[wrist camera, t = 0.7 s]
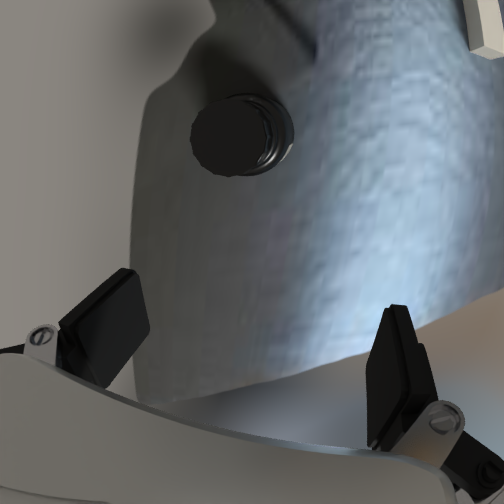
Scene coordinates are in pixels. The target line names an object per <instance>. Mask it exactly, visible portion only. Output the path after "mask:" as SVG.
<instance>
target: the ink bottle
mask: <svg viewBox="0 0 504 504" xmlns="http://www.w3.org/2000/svg"><path fill="white" fill-rule="evenodd" d="M191 127H192V129H191V136H190V142H191V146H192V150H193V154H194V156H195V157H196V158H197V160H198V161H199V162H200V165H201V166H202V167H204V168H206V169H207V170H209V171H210V172H212V173H213V174H215V175H216V174H217V175H222V176H226V177H231V176H236V175H238V176H255V175H259V174H262V173H264V172H267V171H269V170H270V169H272V168H273V167H275V166H276V165H277V164H278V163H279V162H281V161H282V160H283V159H284V158H285V157H286V156H287V154H288V153H289V151H290V149H291V147H292V145H293V140H294V127H293V123H292V120H291V117H290V115H289V114H288V112H287V111H286V110H285V108H284V107H283V106H282V105H280V104H279V103H277V102H276V101H274V100H271V99H269V98H267V97H264V96H261V95H258V94H253V93H241V94H236V95H232V96H230V97H227V98H225V99H223V100H219V101H216V102H211V103H210V104H209V105H208V106H206V107H205V108H204V109H203V110H201V111H200V112H199V113H198V115H197V117H196V119H195V121H194V123H192V126H191Z"/></svg>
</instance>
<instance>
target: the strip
mask: <svg viewBox="0 0 504 504" xmlns="http://www.w3.org/2000/svg"><path fill="white" fill-rule="evenodd" d="M463 5H464V10H465V16H466V23H467V30H468V39H469V48H470V52H472V53H475V54H478V55H480V56H483V57H486V58H488V59H495V58H498V57H502V56H504V31H503V25H502V19H501V14H500V9H499V5H498V0H463Z"/></svg>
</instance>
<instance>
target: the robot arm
mask: <svg viewBox="0 0 504 504" xmlns="http://www.w3.org/2000/svg"><path fill="white" fill-rule="evenodd" d="M58 323H59V326H60V328H61V329H60V330H59V331H58V330H57V328H56V327H55V326H53V325H49V324H48V325H41V326H38V327H36V328H34V329H33V330H32V331H31V332H30V333H29V334H28V336H27V339H26V342H25V344H21V345H17V346H12V347H8V348H3V349H0V504H504V461H503V460H502V459H501V458H500V457H499V456H498V455H496V454H495V453H494V452H492V451H491V450H490V449H488V448H487V447H485V446H484V445H483V444H481V443H480V442H479V441H477V440H476V439H474V438H473V437H472V436H470V435H469V434H468V433H466V432H465V431H464V430H463V429H464V426H465V418H464V415H463V412H462V411H461V410H460V408H459V407H458V406H456V405H455V404H453V403H451V402H449V401H444V400H440V401H439V400H438V396H437V391H436V387H435V383H434V379H433V375H432V371H431V368H430V364H429V360H428V357H427V353H426V350H425V347H424V345H423V344H422V343H418V341H417V337H416V333H415V330H414V327H413V324H412V320H411V317H410V314H409V311H408V308H407V306H406V305H395V304H391V305H390V307H389V308H385V309H384V312H383V315H382V318H381V322H380V325H379V328H378V331H377V334H376V337H375V340H374V343H373V346H372V349H371V352H370V355H369V358H368V361H367V364H366V390H367V446H368V447H372V450H364V449H354V448H343V447H331V446H322V445H314V444H306V443H298V442H292V441H285V440H278V439H272V438H266V437H261V436H255V435H251V434H246V433H241V432H236V431H232V430H228V429H224V428H219V427H216V426H212V425H208V424H204V423H200V422H197V421H193V420H190V419H186V418H183V417H180V416H177V415H173V414H170V413H167V412H164V411H161V410H158V409H155V408H152V407H149V406H147V405H144V404H141V403H138V402H136V401H133V400H130V399H128V398H125V397H123V396H120V395H118V394H115V393H113V392H110V391H108V390H105V388H107V387H108V386H109V385H110V384H111V382H112V381H113V380H114V378H115V377H116V376H117V374H118V373H119V372H120V370H121V369H122V368H123V366H124V365H125V364H126V363H127V361H128V360H129V359H130V357H131V356H132V355H133V354H134V352H135V351H136V350H137V348H138V347H139V346H140V344H141V343H142V342H143V341H144V339H145V338H146V337H147V335H148V334H149V331H150V325H149V320H148V316H147V312H146V307H145V302H144V298H143V293H142V288H141V283H140V278H139V275H138V274H137V273H136V271H135V270H132V269H126V268H121V269H119V270H118V271H117V272H115V273H114V274H113V275H112V276H111V277H109V279H107V280H106V281H105V282H103V283H102V284H101V285H100V286H99V287H98V288H96V289H95V290H94V291H93V292H92V293H91V294H89V295H88V296H87V297H86V298H85V299H84V300H83V301H81V302H80V303H79V304H78V305H77V306H76V307H74V309H72V310H71V311H70V312H69V313H68V314H67V315H66V316H64V317H63V318H62V319H61V320H60V321H59V322H58Z"/></svg>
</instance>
